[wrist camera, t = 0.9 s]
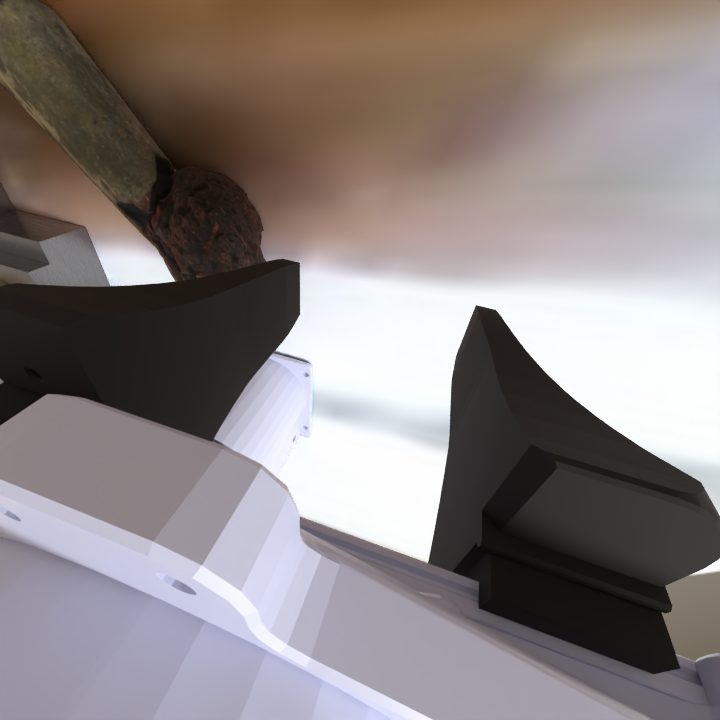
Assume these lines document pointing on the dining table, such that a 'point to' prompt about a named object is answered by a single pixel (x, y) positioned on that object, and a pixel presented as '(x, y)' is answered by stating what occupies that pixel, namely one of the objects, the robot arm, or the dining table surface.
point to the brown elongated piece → (123, 149)
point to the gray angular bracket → (45, 250)
